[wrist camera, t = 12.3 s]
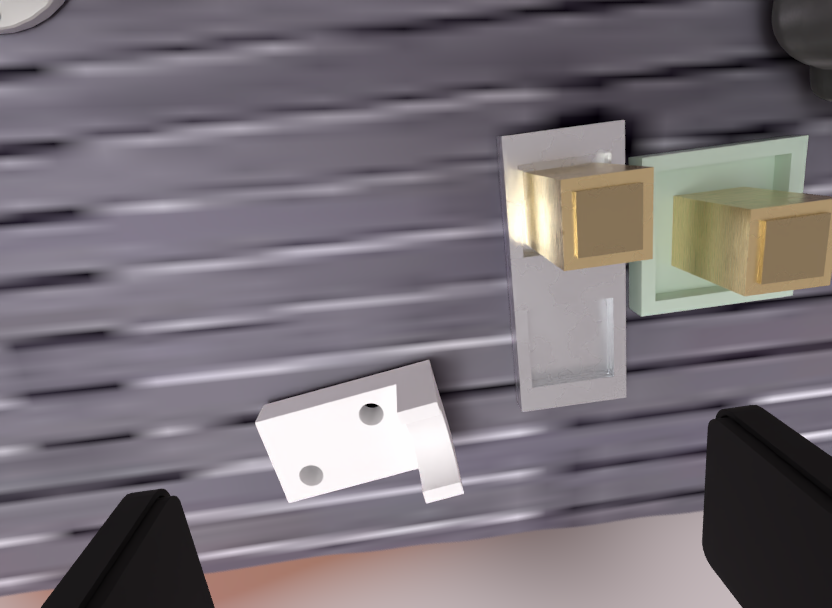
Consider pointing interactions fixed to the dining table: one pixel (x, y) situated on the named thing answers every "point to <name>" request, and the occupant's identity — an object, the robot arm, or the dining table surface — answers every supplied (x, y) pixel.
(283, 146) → the dining table surface
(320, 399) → the bracket
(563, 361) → the white flat board
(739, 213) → the wooden crate cube
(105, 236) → the dining table surface
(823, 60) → the bundt pan
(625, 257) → the cream square knob
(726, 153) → the tray
